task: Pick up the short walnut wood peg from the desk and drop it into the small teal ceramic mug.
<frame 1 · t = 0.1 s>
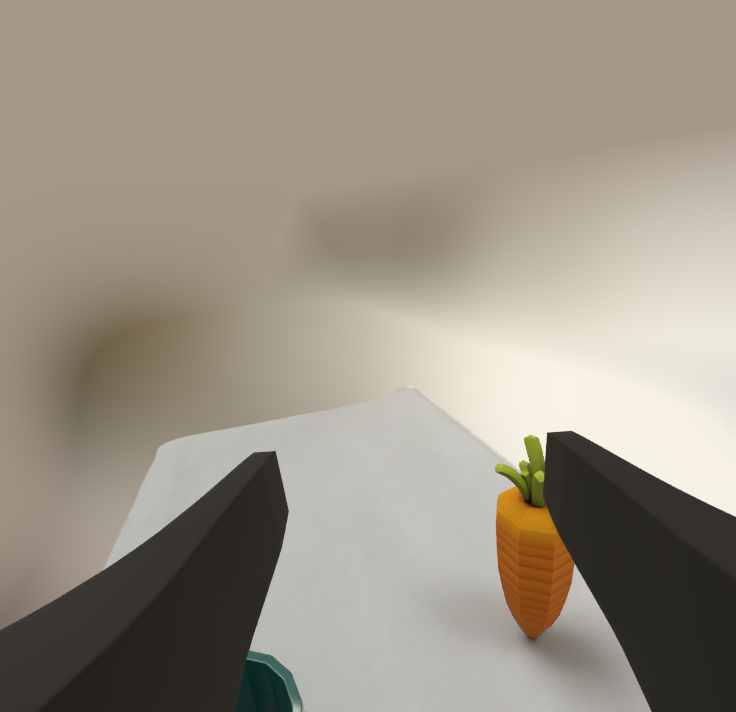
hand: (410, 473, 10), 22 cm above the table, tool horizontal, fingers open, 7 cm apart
carrot: (531, 636, 27), on the table
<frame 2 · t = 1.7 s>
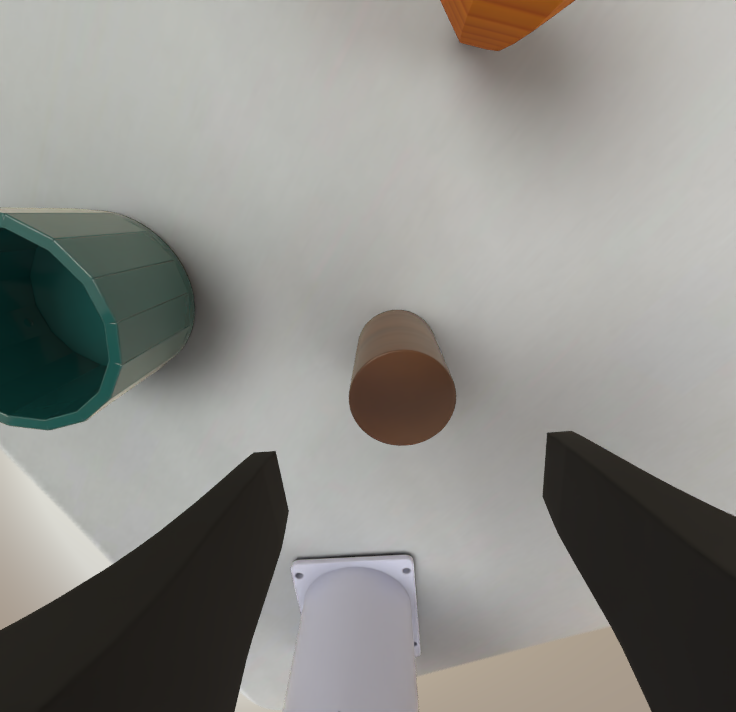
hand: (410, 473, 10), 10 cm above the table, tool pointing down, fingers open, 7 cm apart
walnut peg: (396, 347, 20), on the table
mug: (114, 296, 19), on the table
carrot: (471, 31, 15), on the table
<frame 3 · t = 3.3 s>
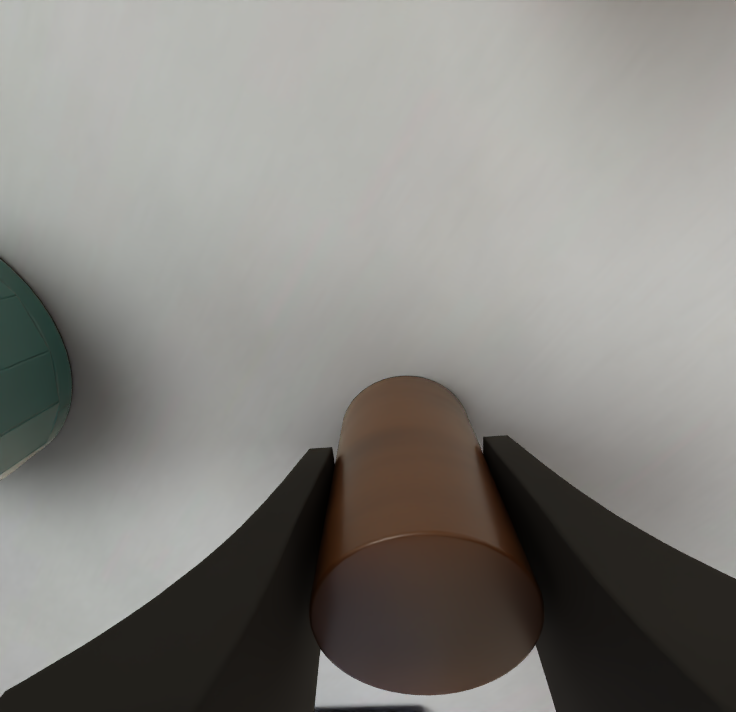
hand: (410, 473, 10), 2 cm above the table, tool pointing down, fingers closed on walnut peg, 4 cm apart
walnut peg: (404, 433, 12), on the table, touching gripper
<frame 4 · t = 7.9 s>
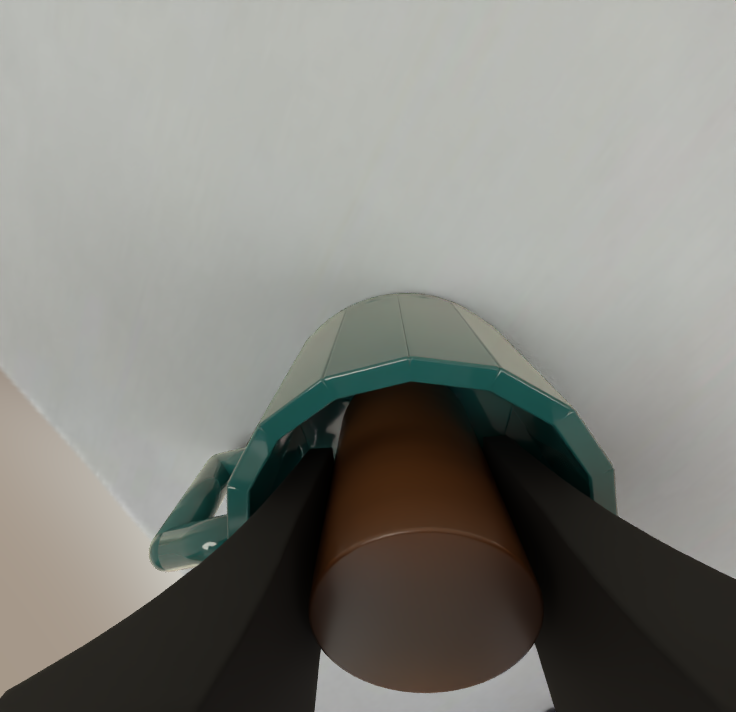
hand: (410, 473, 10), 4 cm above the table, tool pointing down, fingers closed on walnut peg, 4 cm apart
walnut peg: (404, 431, 12), point 2 cm above the table, touching gripper
mug: (402, 405, 14), on the table
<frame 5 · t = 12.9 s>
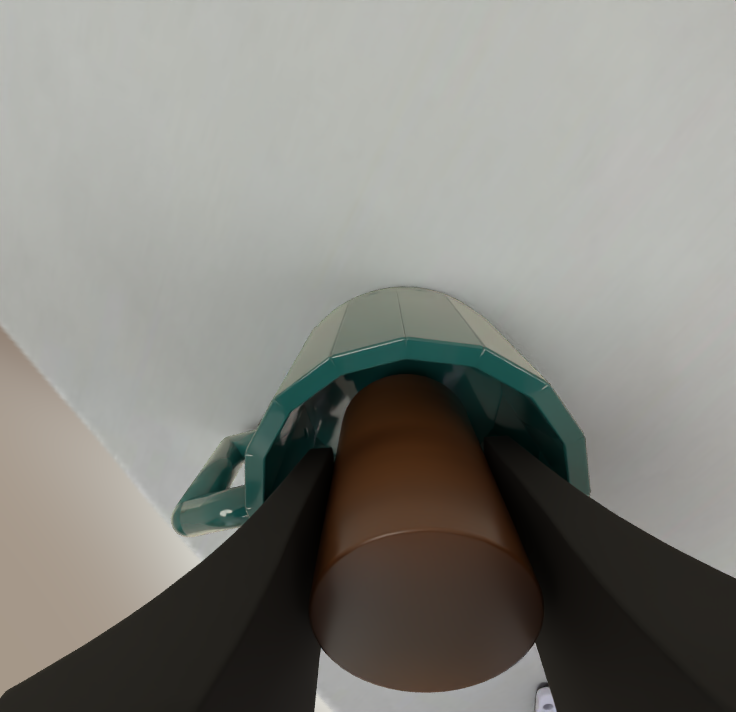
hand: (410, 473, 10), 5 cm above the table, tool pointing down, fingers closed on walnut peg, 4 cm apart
walnut peg: (404, 431, 12), point 3 cm above the table, touching gripper
mug: (401, 392, 15), on the table
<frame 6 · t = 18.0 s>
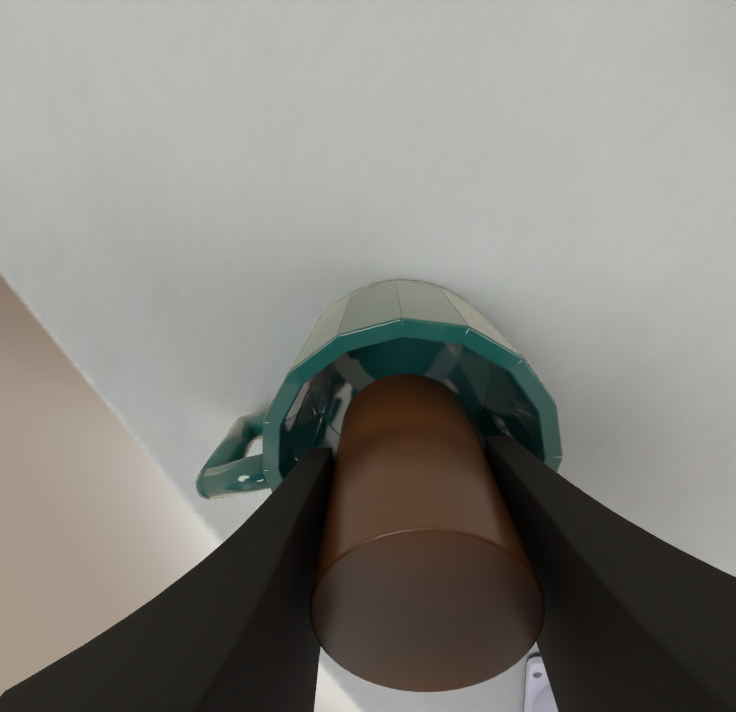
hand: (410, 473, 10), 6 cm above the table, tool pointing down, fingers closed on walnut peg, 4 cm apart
walnut peg: (405, 430, 12), point 4 cm above the table, touching gripper
mug: (399, 376, 16), on the table
when the fingers open (7 cm above the table, at t = 22.7 s): walnut peg drops 4 cm, resting on mug.
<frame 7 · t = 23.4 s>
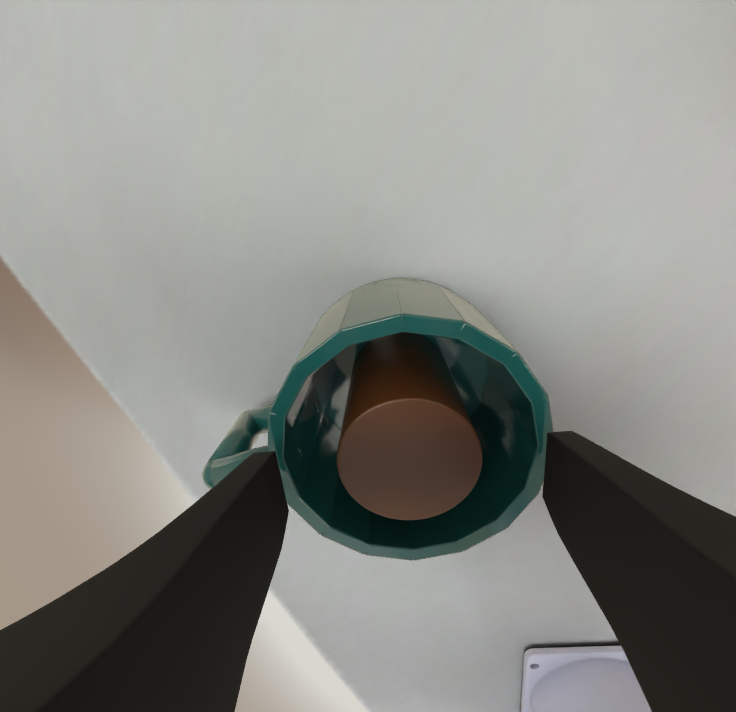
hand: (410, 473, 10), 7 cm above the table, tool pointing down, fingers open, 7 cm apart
walnut peg: (399, 376, 16), point 1 cm above the table, touching mug
mug: (399, 372, 17), on the table
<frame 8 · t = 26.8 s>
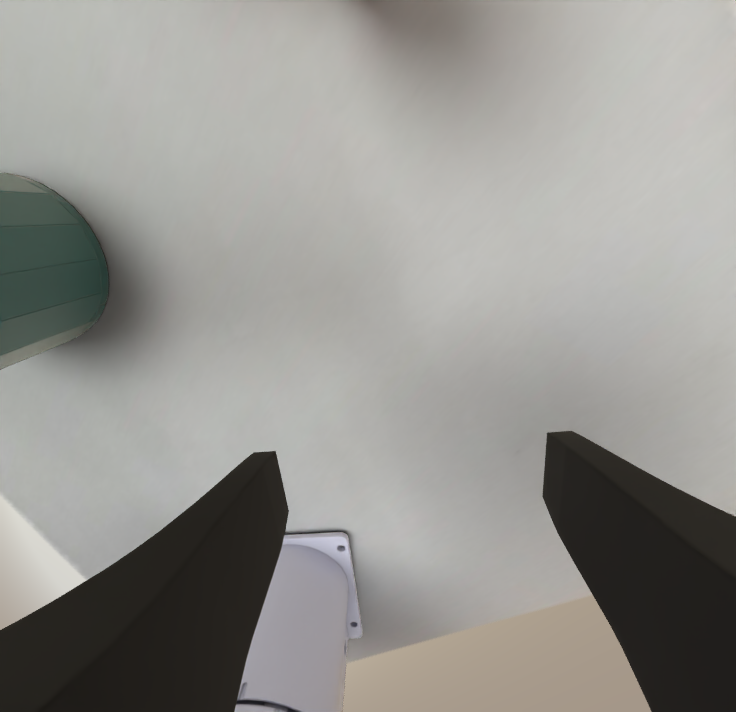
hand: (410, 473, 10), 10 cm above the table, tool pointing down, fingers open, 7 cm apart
mug: (26, 263, 19), on the table
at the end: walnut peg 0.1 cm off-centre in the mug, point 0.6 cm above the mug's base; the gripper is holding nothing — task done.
